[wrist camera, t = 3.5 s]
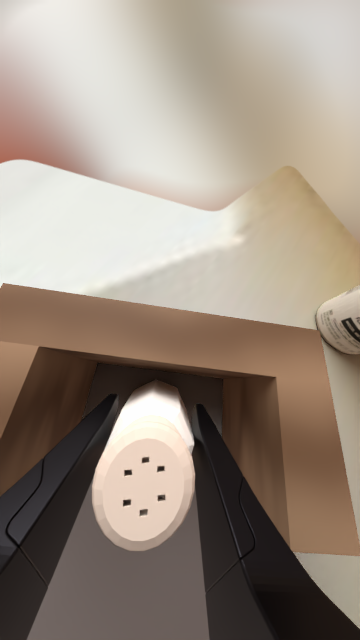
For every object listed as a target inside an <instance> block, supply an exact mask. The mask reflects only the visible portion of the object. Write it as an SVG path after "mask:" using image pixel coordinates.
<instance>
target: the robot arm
mask: <svg viewBox="0 0 360 640" xmlns="http://www.w3.org/2000/svg"><path fill="white" fill-rule="evenodd" d="M117 410H118V394H109V395H108V396H107V397H106V398H105V399H104V400H103V401H102V402H101V403H100V404H99V405H98V406H97V407H96V408H95V409H94V410H93V411H91V412H90V413H89V414H88V415H87V416H86V417H85V418H84V419H83V420H82V421H81V422H80V423H79V424H78V425H77V426H76V427H75V428H74V429H73V430H72V431H70V432H69V433H68V434H67V435H66V436H65V437H64V438H63V439H62V440H61V441H60V442H59V443H58V444H57V445H56V446H55V447H54V448H53V449H52V450H51V451H49V452H48V453H47V454H46V455H45V456H44V459H43V458H42V459H41V460H40V461H39V462H38V463H37V464H36V465H35V466H34V467H33V468H32V469H30V470H29V471H28V472H27V473H26V474H25V475H24V476H23V477H22V478H21V479H20V480H18V481H17V482H16V483H15V484H14V485H13V486H12V487H10V488H9V489H8V490H7V491H6V492H5V493H3V494H2V495H1V496H0V640H27V638H28V636H29V633H30V631H31V628H32V626H33V623H34V621H35V618H36V616H37V614H38V611H39V609H40V606H41V604H42V601H43V599H44V597H45V594H46V592H47V589H48V586H49V584H50V582H51V579H52V577H53V574H54V572H55V570H56V567H57V565H58V562H59V560H60V557H61V555H62V552H63V550H64V548H65V545H66V543H67V540H68V538H69V535H70V533H71V530H72V528H73V526H74V523H75V521H76V518H77V516H78V513H79V511H80V509H81V506H82V504H83V501H84V499H85V496H86V494H87V491H88V489H89V487H90V484H91V482H92V479H93V477H94V474H95V470H96V467H97V465H98V463H99V460H100V458H101V456H102V454H103V452H104V450H105V447H106V444H107V442H108V439H109V436H110V433H111V430H112V426H113V423H114V420H115V416H116V413H117ZM192 433H193V437H194V447H193V451H192V459H193V465H194V471H195V490H196V501H197V512H198V522H199V533H200V544H201V554H202V565H203V575H204V586H205V593H206V594H205V597H206V608H207V619H208V629H209V640H360V629H359V628H358V627H357V626H356V625H355V624H354V623H353V622H352V621H351V620H350V619H349V618H348V617H347V616H346V615H345V614H344V613H343V612H342V611H341V610H340V609H339V608H338V607H337V606H336V605H335V604H334V603H333V602H332V601H331V600H330V599H329V598H328V597H327V596H326V595H325V594H324V593H323V592H322V590H321V589H320V588H319V587H318V586H317V585H316V583H315V582H314V581H313V580H312V579H311V577H310V576H309V575H308V573H307V572H306V571H305V569H304V568H303V566H302V565H301V563H300V562H299V561H298V559H297V558H296V556H295V555H294V553H293V552H292V550H291V549H290V547H289V546H288V544H287V543H286V541H285V540H284V538H283V537H282V535H281V534H280V532H279V531H278V529H277V528H276V526H275V525H274V524H273V522H272V521H271V519H270V518H269V516H268V514H267V513H266V511H265V510H264V508H263V507H262V505H261V504H260V502H259V501H258V499H257V497H256V496H255V494H254V492H253V491H252V489H251V487H250V486H249V484H248V482H247V480H246V479H245V477H244V476H243V473H242V472H241V470H240V468H239V466H238V465H237V463H236V461H235V460H234V458H233V456H232V454H231V453H230V451H229V449H228V447H227V446H226V444H225V442H224V440H223V439H222V437H221V435H220V433H219V432H218V430H217V428H216V426H215V425H214V423H213V421H212V419H211V418H210V416H209V414H208V413H207V411H206V409H205V407H204V406H203V405H202V404H197V403H196V404H195V405H194V409H193V413H192Z"/></svg>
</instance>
